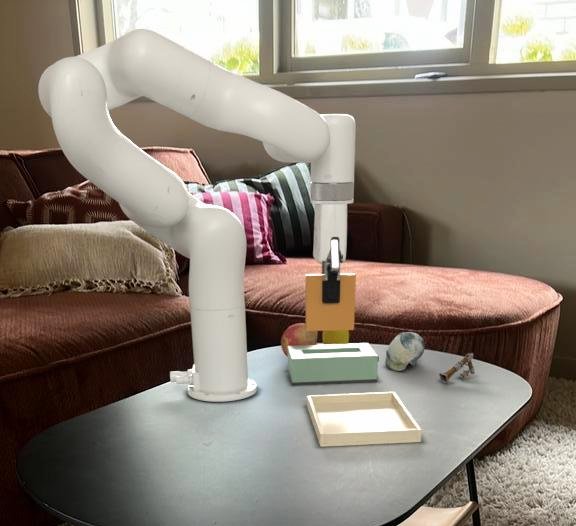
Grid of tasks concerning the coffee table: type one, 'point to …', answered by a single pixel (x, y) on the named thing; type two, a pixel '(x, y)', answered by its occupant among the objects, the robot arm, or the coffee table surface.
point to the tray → (362, 419)
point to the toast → (330, 305)
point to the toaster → (332, 364)
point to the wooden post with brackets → (457, 366)
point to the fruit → (297, 337)
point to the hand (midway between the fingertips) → (330, 301)
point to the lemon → (336, 337)
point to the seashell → (404, 350)
